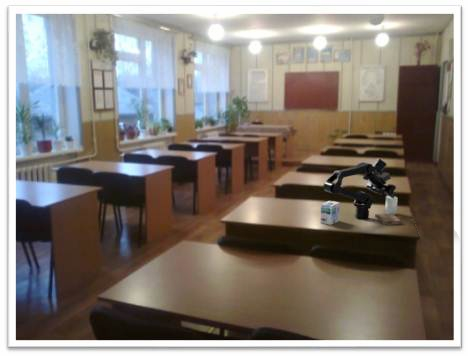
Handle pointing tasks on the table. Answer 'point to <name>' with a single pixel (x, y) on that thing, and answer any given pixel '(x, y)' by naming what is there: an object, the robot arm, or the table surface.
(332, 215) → the light bulb box
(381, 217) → the walnut base block
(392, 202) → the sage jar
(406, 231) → the table surface
